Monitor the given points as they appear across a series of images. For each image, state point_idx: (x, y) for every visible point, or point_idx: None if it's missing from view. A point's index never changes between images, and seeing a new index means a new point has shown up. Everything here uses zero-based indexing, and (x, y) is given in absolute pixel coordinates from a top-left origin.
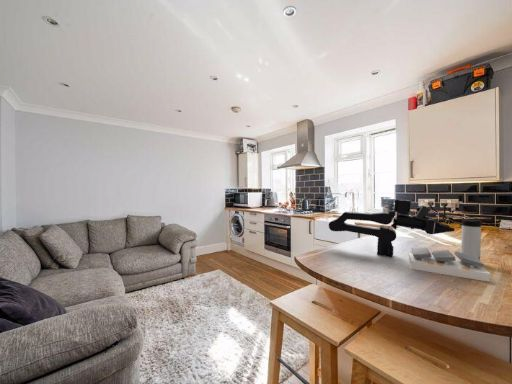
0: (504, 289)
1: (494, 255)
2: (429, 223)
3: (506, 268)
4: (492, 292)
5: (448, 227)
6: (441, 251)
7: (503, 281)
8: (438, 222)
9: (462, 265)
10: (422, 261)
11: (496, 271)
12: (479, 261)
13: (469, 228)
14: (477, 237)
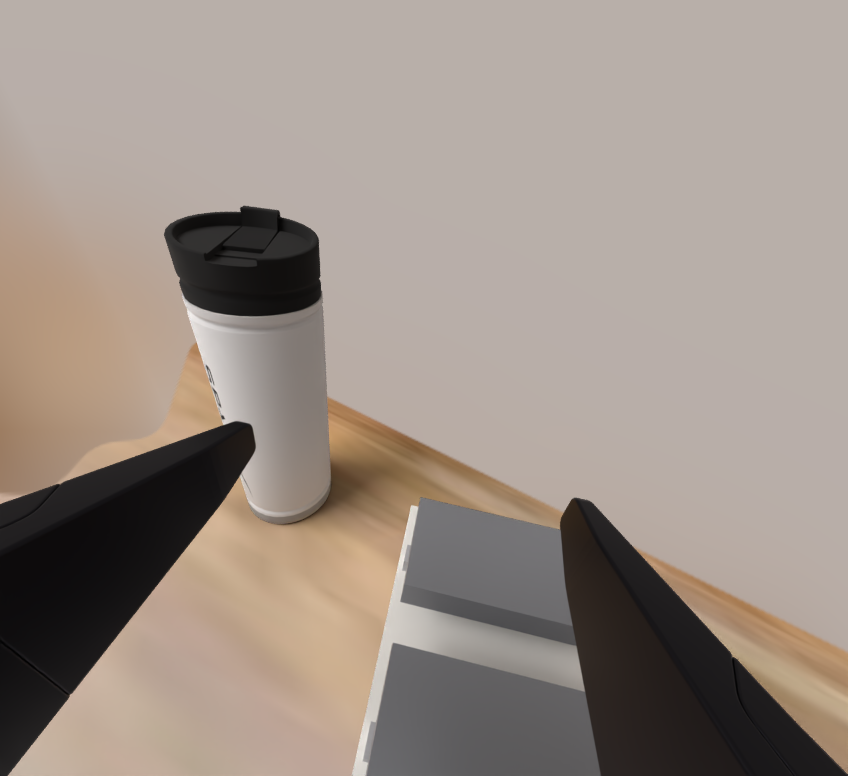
0: (658, 565)
1: (195, 360)
2: None
3: (364, 416)
4: (762, 648)
5: (656, 586)
6: (421, 746)
7: (545, 512)
8: (27, 519)
9: (555, 641)
10: None
11: (417, 465)
12: (541, 530)
13: (301, 328)
14: (325, 365)
